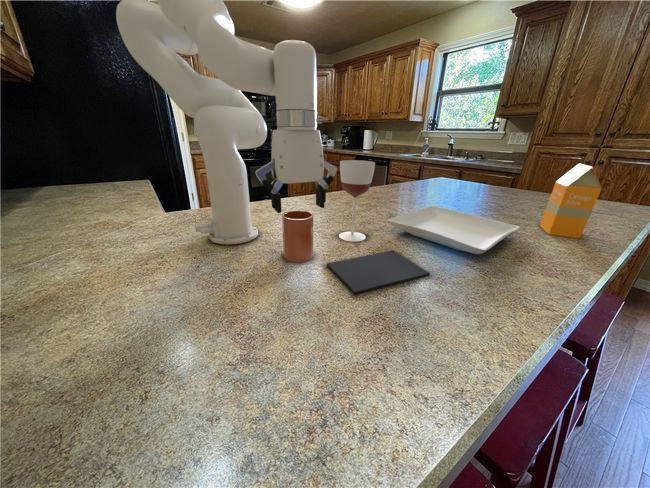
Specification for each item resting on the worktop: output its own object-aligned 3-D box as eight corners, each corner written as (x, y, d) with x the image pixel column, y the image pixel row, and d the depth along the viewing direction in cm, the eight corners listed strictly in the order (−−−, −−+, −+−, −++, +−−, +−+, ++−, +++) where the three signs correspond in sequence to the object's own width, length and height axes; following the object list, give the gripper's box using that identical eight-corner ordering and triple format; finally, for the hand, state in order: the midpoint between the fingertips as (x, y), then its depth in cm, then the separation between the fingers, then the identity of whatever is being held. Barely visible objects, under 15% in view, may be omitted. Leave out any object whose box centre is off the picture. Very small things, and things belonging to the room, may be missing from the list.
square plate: (481, 264, 61) (486, 249, 59) (384, 230, 79) (385, 218, 78) (518, 237, 77) (522, 224, 76) (430, 214, 96) (432, 204, 94)
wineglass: (367, 243, 70) (374, 164, 62) (334, 240, 72) (337, 162, 64) (368, 232, 77) (375, 161, 70) (338, 230, 79) (342, 159, 71)
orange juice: (548, 234, 80) (574, 165, 72) (539, 225, 88) (562, 162, 80) (580, 238, 77) (612, 167, 69) (568, 229, 85) (595, 163, 77)
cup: (289, 264, 58) (287, 221, 54) (280, 252, 64) (278, 212, 60) (317, 259, 61) (318, 217, 57) (306, 247, 67) (306, 209, 63)
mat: (354, 294, 48) (355, 291, 48) (326, 265, 58) (326, 263, 58) (429, 275, 56) (430, 273, 55) (393, 252, 65) (393, 250, 65)
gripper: (329, 123, 58) (328, 201, 64) (247, 121, 51) (255, 208, 58) (346, 122, 51) (343, 208, 58) (255, 120, 45) (263, 218, 51)
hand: (299, 208), depth 58 cm, fingers open, 9 cm apart
